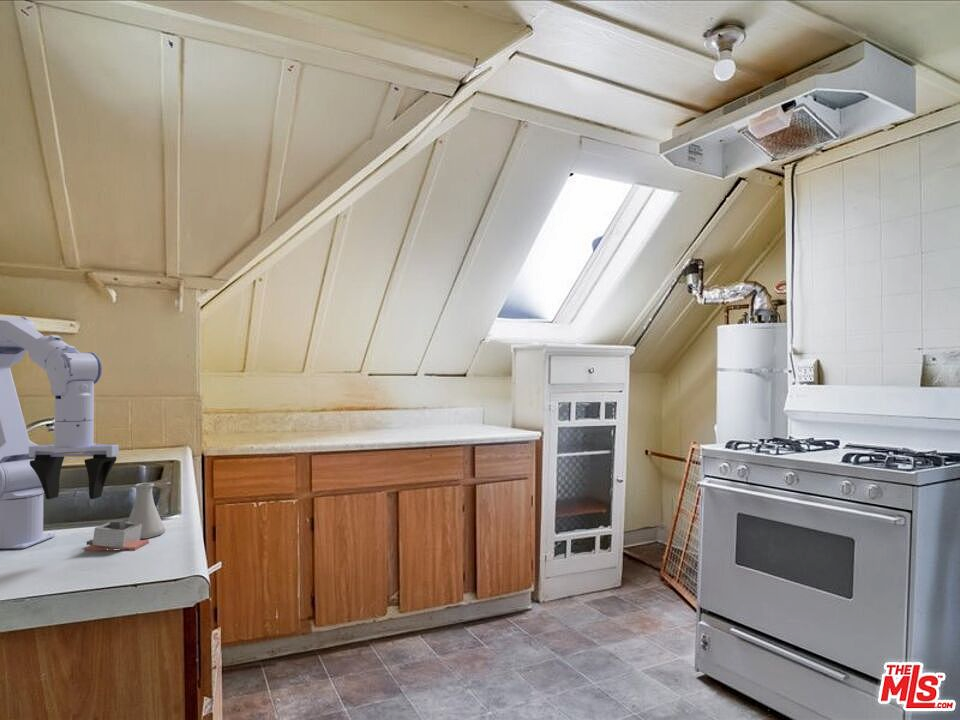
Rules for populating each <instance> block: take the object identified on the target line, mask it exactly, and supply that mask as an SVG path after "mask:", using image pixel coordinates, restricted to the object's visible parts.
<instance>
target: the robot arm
mask: <svg viewBox="0 0 960 720" xmlns="http://www.w3.org/2000/svg"><path fill="white" fill-rule="evenodd" d="M62 339H63V338H62V336H60V335H59V334H49V335H44V334H42V333H41V332H40V331H38V330H37V329H36V328H35V323H34V320H31V319H30V318H28V317H26V316H20V317H18V316H17V317H15V316H5V315H4V316H3V315H0V549H25V548H28V547H30V546H33V545H36V544H39V543H42V542H43V541H46V540H49V539H51V538H54V537H55V533H44V496H45V500H52V499H55V498H58V497H59V494H60V477H61V472H62V471H61V470H62V467H63V462H64V460H65V457H72V458H73V457H84V458H85V457H87V458H86V459H84V465H85V467H86V471H87V478H88V495H89V500H94V499H98V498H100V497H102V494H103V491H104V487H105V483H106V481H107V478H108V476H109V473H110V471H111V469H112V468H113V466H114V465H115V463H116V461H117V457H118V456H119V452H120V451H119V450H120V449H119V448H120V444H105V443H103V444H102V443H95V441H94V440H95V439H94V437H95V433H94V432H95V427H94V426H95V420H94V419H95V384H97V383H98V382H99V381H100V379H101V377H102V373H103V363H102V360H101V359H100V357H99V356H98V355H97V354H96V353H95V352H93V351H89V352H88V351H87V352H80V351H79V350H77V347H75V346H74V345H70V344H69V343H66V342H65V341H63V340H62ZM27 352H28V358H29V359H30V361H32V362H33V363H35V364H36V365H37V366H38V367H40V368H42V369H43V370H44V371H46V375H47V380H48V381H49V383H50V392H51V395H53V396H54V425H53V426H54V432H53V434H54V435H53V438H54V440H53V441H54V442H53V443H54V444H37V443H35V442H34V441H32V440H30V437H29V432H28V430H27V426H26V423H25V417H24V415H23V414H24V413H23V411H22V407H21V403H20V400H19V396H18V392H17V389H16V384H15V381H14V379H13V373H12V371H11V368H12V366H13V365H14V366H15V364H18V363H20V362H21V361H22V360H23V358H24V357H25V355H26V354H27ZM88 457H91V458H88Z"/></svg>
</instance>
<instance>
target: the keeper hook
mask: <svg viewBox="0 0 960 720" xmlns="http://www.w3.org/2000/svg"><path fill="white" fill-rule="evenodd" d="M113 520H114V521H113ZM113 520H110V521H109V522H110V528H111V529H119V530H124V529H126V522H127V521H126V519H113ZM149 543H150V540H149V539H143V540H142V539H140V540H138V541H136V542H134V543H132V544H131V545H129V546H127V547H125V548H123V549H122V548H114V547H106V546H98V545H92V544H93V539H89V540H88V541H86V546H85V547H84V551H115V550H114V549H120V550H119V551H126V550H125V549H129V550H128V551H136V550H138V549H140V548H142V547H144V546H146V545H148V544H149ZM141 546H142V547H141ZM139 547H140V548H139ZM137 548H138V549H137ZM107 549H108V550H107ZM135 549H136V550H135Z"/></svg>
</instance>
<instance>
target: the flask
mask: <svg viewBox="0 0 960 720" xmlns="http://www.w3.org/2000/svg"><path fill="white" fill-rule="evenodd" d="M154 486H155V483H154V482H153V483H152V482H142V483H137V484H135V485H134V486H133V487H134V489H135V490H136V491H135V498H134V502H133V505H132V506H133V507H132V509H131V512H130V514H129V517H128V520H127V522H132V523H140V524H142V529H141V536H140V540H142V539H143V540H145V539H150V538H153V537H157V536H160V535H162V534H163V533H165V532H166V528H165V525H164V524H163V521H162V519H161V517H160V514H159V512H158V509H157V507H156V504H155V500H154V495H153V487H154Z"/></svg>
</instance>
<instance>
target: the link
mask: <svg viewBox="0 0 960 720" xmlns="http://www.w3.org/2000/svg"><path fill="white" fill-rule="evenodd" d="M114 520H115V519H113V520H112V521H114ZM110 522H111V521H108V522H105V523H104V524H102V525H98V526H96V527H94V530H93V538H92V540H93V544H92V545H98V546H106V547H114V548H122V549H123V548H125V547H127V546H129V545H131V544H132V543H134V542H136V541H138V540H141V539H140V536H141V529H142V524H140V523H132V522H128V521H126V529H124V530H119V529H111V528H110Z"/></svg>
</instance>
